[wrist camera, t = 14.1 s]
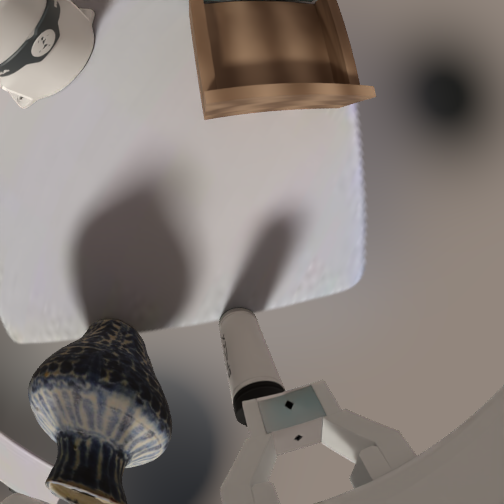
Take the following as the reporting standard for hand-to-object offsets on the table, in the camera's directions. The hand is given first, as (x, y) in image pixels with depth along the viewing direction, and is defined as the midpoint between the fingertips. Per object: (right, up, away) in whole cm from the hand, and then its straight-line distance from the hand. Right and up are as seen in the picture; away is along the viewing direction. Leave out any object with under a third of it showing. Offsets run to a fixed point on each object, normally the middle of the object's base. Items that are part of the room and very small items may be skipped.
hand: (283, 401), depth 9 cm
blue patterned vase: (-24, -10, +32) cm, 42 cm away
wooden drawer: (+1, +33, +22) cm, 40 cm away
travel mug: (-3, -6, +35) cm, 36 cm away
